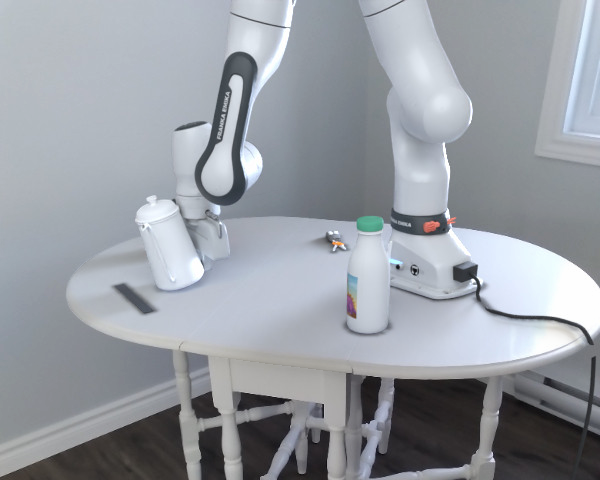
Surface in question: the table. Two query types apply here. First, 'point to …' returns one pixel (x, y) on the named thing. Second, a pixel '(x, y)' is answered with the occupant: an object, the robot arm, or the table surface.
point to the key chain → (335, 239)
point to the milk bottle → (368, 279)
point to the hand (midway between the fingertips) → (205, 268)
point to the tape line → (134, 298)
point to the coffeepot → (168, 245)
